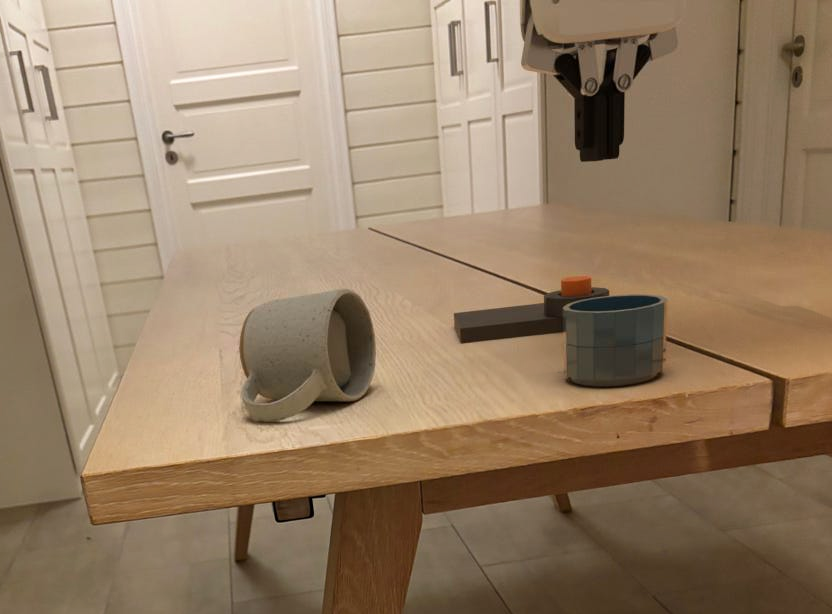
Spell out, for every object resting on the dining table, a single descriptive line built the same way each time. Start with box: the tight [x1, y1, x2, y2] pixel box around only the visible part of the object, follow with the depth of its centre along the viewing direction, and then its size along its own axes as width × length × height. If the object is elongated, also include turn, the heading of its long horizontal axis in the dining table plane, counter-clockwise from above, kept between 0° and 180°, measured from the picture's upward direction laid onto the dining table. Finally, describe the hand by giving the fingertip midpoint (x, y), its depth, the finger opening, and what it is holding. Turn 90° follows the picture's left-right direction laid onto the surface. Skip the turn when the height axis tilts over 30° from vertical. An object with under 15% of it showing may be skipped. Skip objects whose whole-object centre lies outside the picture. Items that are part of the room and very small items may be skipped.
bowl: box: [562, 293, 668, 388], centre depth 67 cm, size 7×7×5 cm
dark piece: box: [453, 286, 610, 345], centre depth 88 cm, size 13×10×3 cm
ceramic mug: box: [238, 288, 377, 423], centre depth 69 cm, size 11×8×8 cm
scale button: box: [560, 275, 592, 296], centre depth 85 cm, size 3×3×2 cm
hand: (599, 159), depth 68 cm, fingers closed
